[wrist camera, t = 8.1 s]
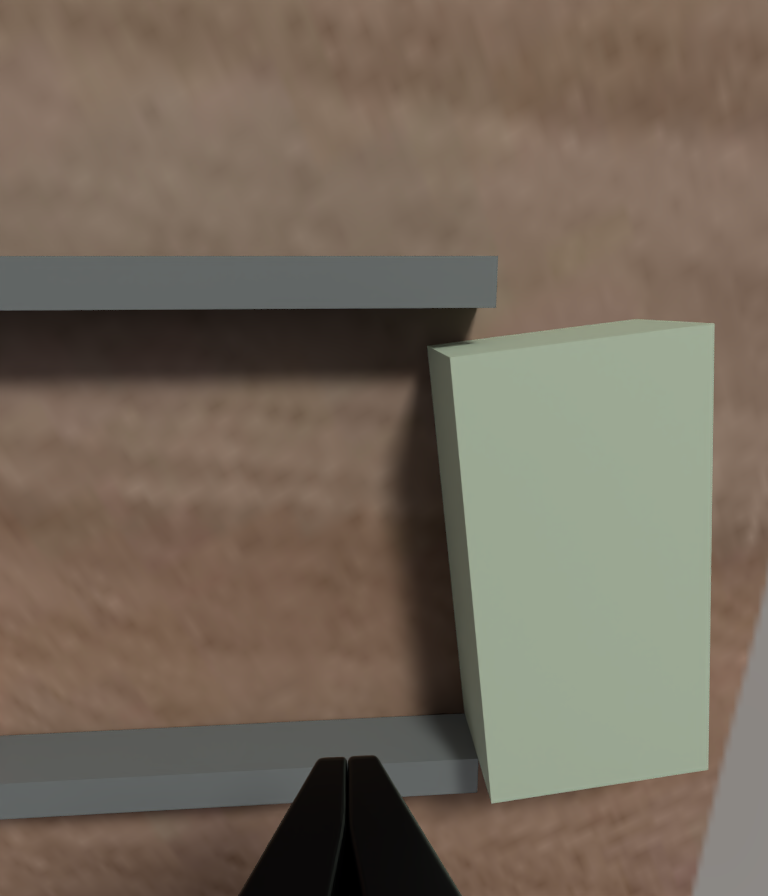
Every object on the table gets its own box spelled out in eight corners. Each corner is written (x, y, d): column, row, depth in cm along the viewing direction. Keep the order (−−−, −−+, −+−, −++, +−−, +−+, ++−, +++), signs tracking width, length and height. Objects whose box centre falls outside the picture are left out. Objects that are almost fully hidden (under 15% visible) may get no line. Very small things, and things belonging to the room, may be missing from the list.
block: (462, 706, 20) (491, 803, 16) (425, 344, 17) (449, 357, 13) (638, 679, 20) (708, 769, 16) (630, 318, 17) (714, 323, 13)
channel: (-142, 775, 19) (-199, 830, 17) (-274, 262, 15) (-365, 256, 13) (464, 744, 20) (477, 792, 18) (479, 261, 16) (498, 256, 14)
